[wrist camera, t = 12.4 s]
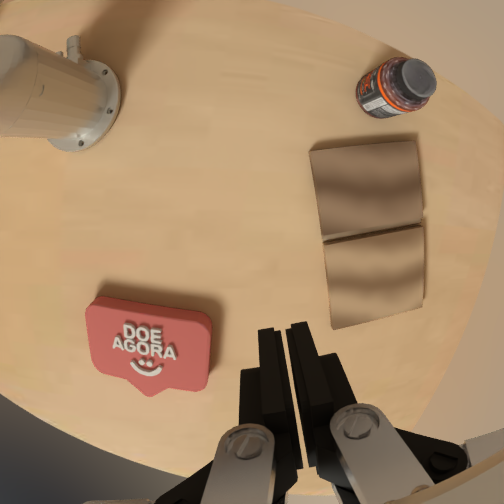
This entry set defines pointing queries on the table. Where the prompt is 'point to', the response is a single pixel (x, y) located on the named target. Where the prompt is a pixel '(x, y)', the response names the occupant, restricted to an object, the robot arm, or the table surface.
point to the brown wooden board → (366, 188)
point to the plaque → (150, 344)
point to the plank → (374, 275)
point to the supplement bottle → (396, 88)
